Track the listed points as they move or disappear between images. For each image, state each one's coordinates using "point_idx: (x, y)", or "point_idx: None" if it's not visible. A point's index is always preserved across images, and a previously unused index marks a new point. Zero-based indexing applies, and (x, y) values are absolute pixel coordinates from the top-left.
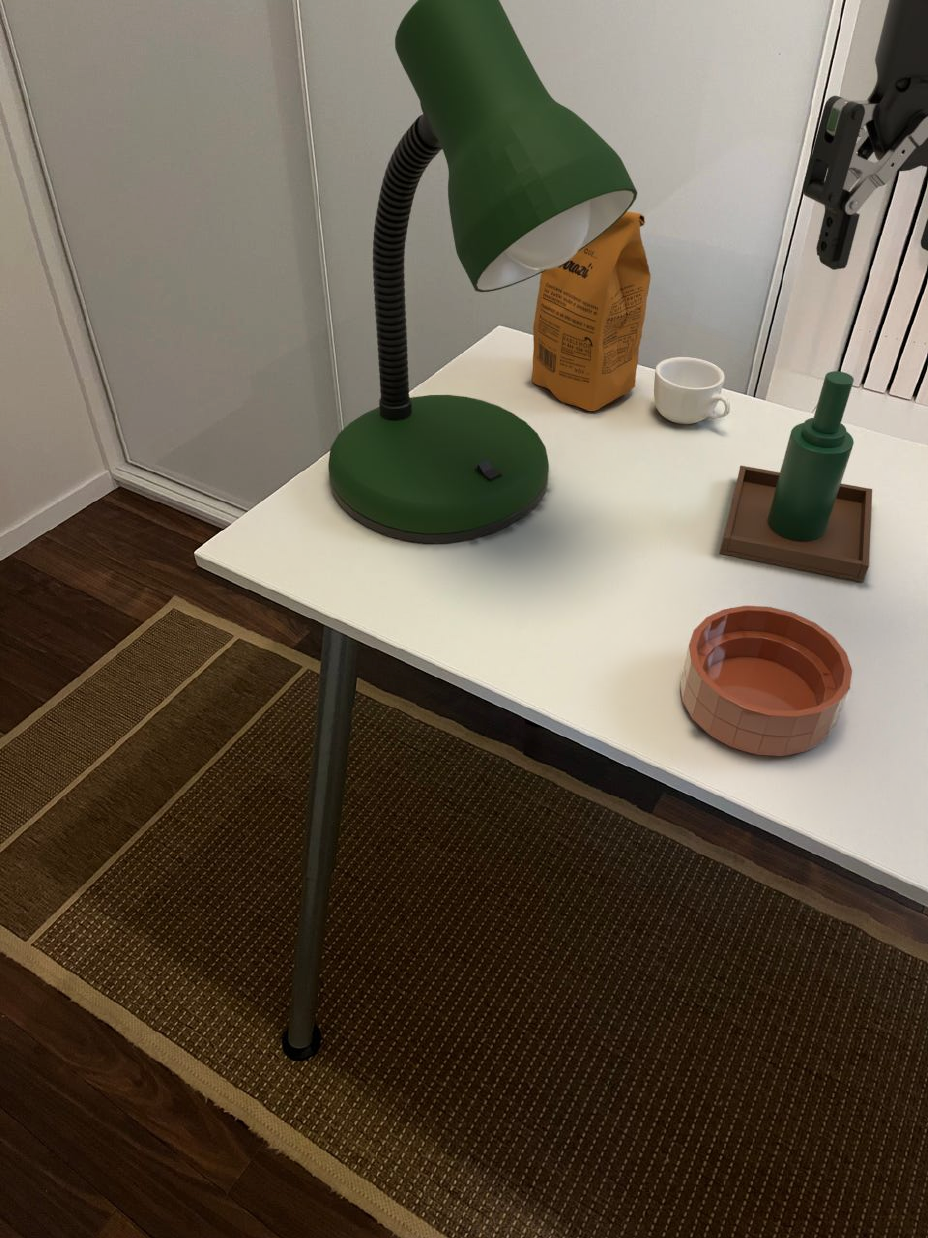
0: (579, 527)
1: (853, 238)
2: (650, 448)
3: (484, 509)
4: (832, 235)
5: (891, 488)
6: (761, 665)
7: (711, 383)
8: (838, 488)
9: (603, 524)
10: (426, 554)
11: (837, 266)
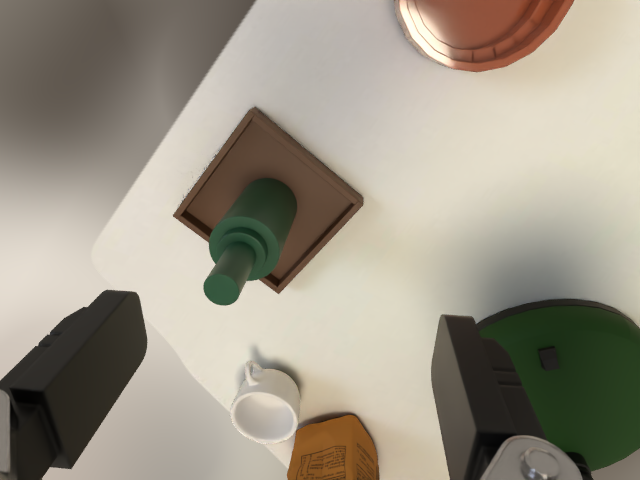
0: (465, 278)
1: (461, 366)
2: (331, 353)
3: (569, 317)
4: (527, 397)
5: (141, 222)
6: (437, 25)
7: (240, 403)
8: (237, 200)
9: (441, 274)
10: (623, 295)
11: (472, 318)
